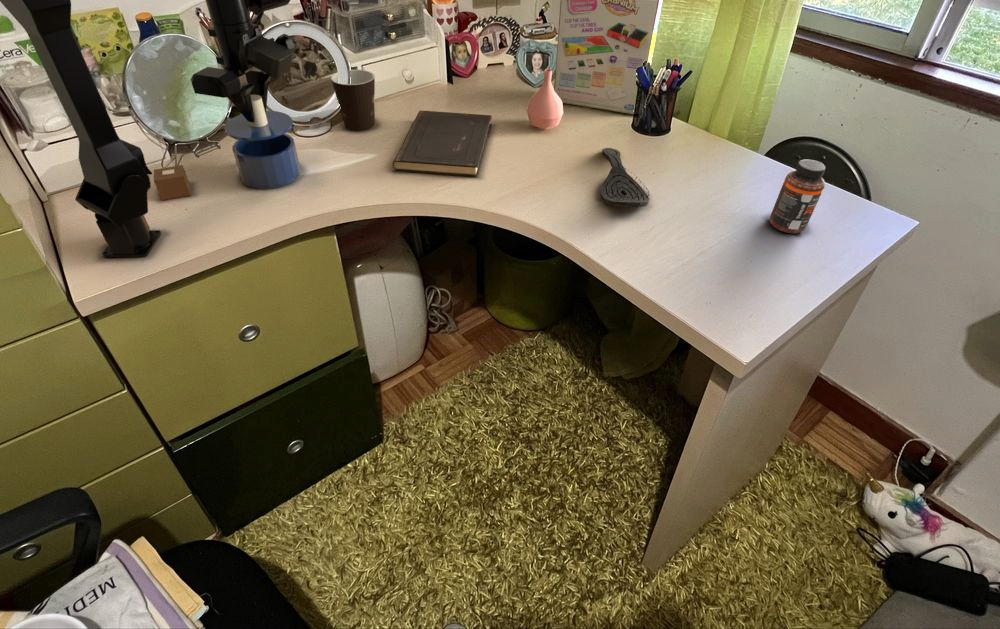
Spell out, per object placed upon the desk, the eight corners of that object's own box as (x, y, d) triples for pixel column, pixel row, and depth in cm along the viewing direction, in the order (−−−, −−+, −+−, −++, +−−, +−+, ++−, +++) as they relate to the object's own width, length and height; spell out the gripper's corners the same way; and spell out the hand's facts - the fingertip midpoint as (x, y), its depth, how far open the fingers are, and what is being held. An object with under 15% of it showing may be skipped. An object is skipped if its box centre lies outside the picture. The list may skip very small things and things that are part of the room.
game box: (643, 108, 134) (669, -25, 116) (639, 117, 130) (665, -20, 112) (557, 93, 139) (569, -37, 121) (550, 101, 136) (562, -31, 117)
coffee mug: (371, 135, 120) (365, 86, 113) (332, 130, 121) (323, 82, 114) (390, 113, 129) (385, 66, 122) (353, 109, 130) (347, 62, 123)
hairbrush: (630, 138, 116) (658, 198, 96) (627, 156, 118) (654, 217, 99) (588, 138, 116) (608, 197, 96) (586, 155, 118) (605, 217, 98)
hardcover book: (491, 125, 125) (491, 115, 124) (477, 177, 108) (477, 166, 107) (418, 120, 126) (417, 110, 125) (393, 171, 109) (392, 159, 108)
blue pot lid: (286, 144, 97) (278, 111, 94) (217, 144, 97) (207, 111, 93) (299, 116, 106) (292, 85, 102) (236, 116, 105) (227, 85, 101)
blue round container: (294, 188, 103) (287, 157, 99) (234, 189, 103) (225, 158, 99) (305, 161, 111) (299, 131, 107) (249, 161, 110) (241, 131, 106)
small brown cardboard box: (191, 195, 101) (183, 175, 98) (161, 200, 99) (153, 179, 97) (189, 184, 104) (182, 163, 101) (161, 189, 102) (153, 168, 100)
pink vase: (538, 116, 129) (542, 61, 121) (568, 126, 126) (574, 69, 118) (518, 128, 124) (521, 71, 116) (549, 138, 121) (554, 80, 113)
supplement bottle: (801, 239, 96) (829, 177, 88) (764, 228, 98) (788, 166, 90) (808, 222, 100) (835, 162, 92) (772, 212, 102) (796, 152, 94)
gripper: (240, 44, 81) (267, 148, 92) (309, 9, 94) (326, 103, 105) (172, 35, 83) (206, 138, 94) (249, 2, 97) (271, 95, 107)
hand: (257, 118), depth 100 cm, fingers closed on blue pot lid, 3 cm apart
